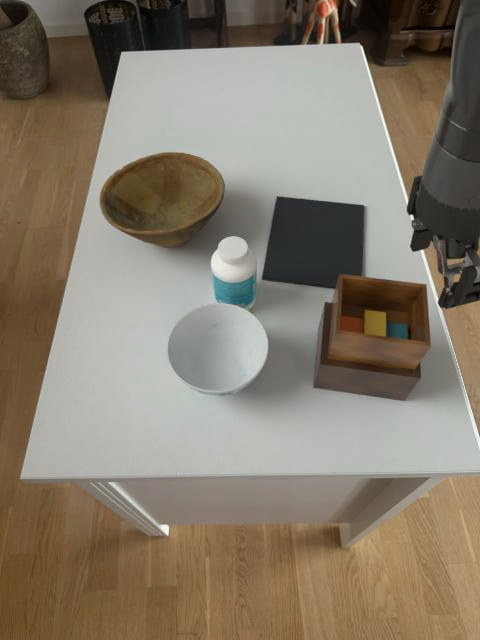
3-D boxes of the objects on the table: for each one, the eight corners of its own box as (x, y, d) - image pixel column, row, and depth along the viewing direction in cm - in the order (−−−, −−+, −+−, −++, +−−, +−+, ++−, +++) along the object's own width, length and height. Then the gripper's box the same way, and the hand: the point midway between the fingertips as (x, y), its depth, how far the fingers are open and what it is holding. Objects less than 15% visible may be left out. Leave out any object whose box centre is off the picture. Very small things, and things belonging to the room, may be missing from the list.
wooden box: (411, 312, 67) (426, 284, 61) (413, 371, 62) (431, 346, 56) (331, 302, 68) (339, 273, 62) (327, 358, 63) (335, 333, 57)
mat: (363, 207, 91) (364, 205, 90) (361, 292, 79) (361, 290, 79) (276, 198, 93) (276, 196, 92) (261, 279, 81) (261, 277, 81)
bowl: (120, 193, 95) (107, 153, 86) (226, 190, 95) (224, 149, 86) (105, 273, 83) (89, 235, 74) (227, 269, 83) (224, 231, 74)
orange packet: (369, 323, 65) (371, 319, 64) (368, 341, 64) (370, 336, 63) (338, 319, 66) (339, 315, 65) (337, 336, 64) (338, 332, 63)
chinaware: (210, 431, 66) (206, 413, 59) (156, 362, 72) (147, 338, 66) (286, 374, 71) (289, 351, 64) (228, 314, 77) (226, 287, 71)
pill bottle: (262, 308, 78) (265, 257, 66) (223, 321, 76) (218, 272, 65) (246, 277, 81) (246, 224, 70) (209, 289, 80) (202, 237, 69)
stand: (402, 340, 74) (417, 313, 67) (404, 401, 68) (421, 378, 61) (318, 328, 75) (324, 301, 68) (312, 387, 69) (319, 364, 63)
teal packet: (405, 328, 65) (407, 324, 64) (405, 346, 63) (408, 341, 62) (374, 324, 65) (376, 320, 64) (373, 341, 64) (375, 337, 63)
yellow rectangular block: (363, 314, 65) (365, 309, 64) (384, 316, 64) (386, 312, 63) (362, 340, 62) (364, 336, 61) (384, 343, 62) (386, 339, 61)
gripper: (552, 221, 36) (491, 316, 50) (473, 113, 43) (439, 223, 57) (459, 246, 36) (424, 333, 50) (397, 135, 43) (381, 238, 57)
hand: (432, 274), depth 53 cm, fingers open, 8 cm apart
